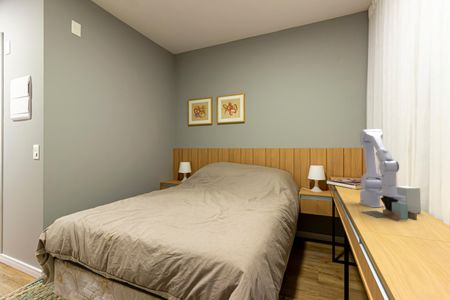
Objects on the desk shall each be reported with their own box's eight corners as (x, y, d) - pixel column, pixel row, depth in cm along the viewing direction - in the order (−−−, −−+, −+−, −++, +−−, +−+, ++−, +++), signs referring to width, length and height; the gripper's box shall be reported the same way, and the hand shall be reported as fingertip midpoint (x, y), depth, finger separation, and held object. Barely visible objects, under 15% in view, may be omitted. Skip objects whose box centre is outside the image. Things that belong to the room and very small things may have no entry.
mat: (360, 212, 105) (360, 211, 105) (376, 211, 107) (376, 210, 107) (376, 217, 96) (376, 216, 96) (392, 216, 98) (392, 215, 98)
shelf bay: (382, 215, 99) (382, 209, 99) (400, 214, 101) (400, 208, 101) (398, 220, 92) (398, 214, 92) (416, 219, 93) (416, 212, 93)
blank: (392, 216, 98) (391, 202, 98) (399, 216, 98) (398, 201, 98) (400, 219, 94) (400, 204, 94) (407, 219, 94) (407, 203, 94)
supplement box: (421, 213, 103) (421, 188, 103) (406, 213, 103) (406, 188, 103) (408, 209, 110) (408, 185, 111) (394, 209, 111) (394, 185, 111)
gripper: (369, 183, 108) (369, 209, 107) (396, 187, 93) (397, 217, 93) (380, 182, 109) (381, 208, 109) (409, 187, 95) (410, 216, 94)
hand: (389, 212), depth 101 cm, fingers closed
